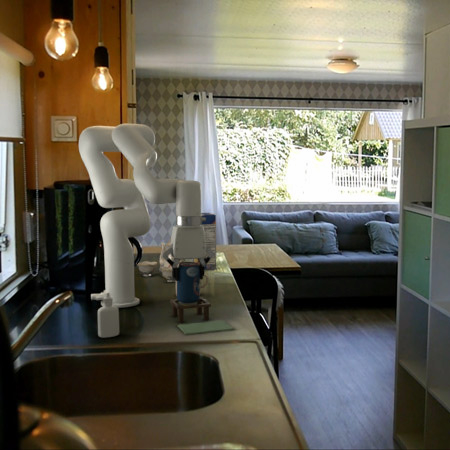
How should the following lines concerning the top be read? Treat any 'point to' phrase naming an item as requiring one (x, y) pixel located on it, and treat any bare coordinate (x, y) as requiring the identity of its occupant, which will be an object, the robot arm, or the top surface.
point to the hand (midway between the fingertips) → (188, 278)
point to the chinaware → (164, 265)
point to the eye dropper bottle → (108, 319)
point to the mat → (205, 327)
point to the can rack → (199, 307)
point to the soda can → (188, 283)
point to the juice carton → (209, 239)
